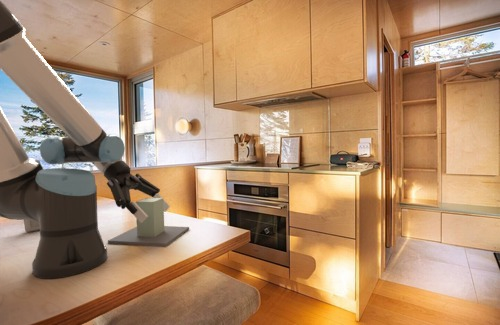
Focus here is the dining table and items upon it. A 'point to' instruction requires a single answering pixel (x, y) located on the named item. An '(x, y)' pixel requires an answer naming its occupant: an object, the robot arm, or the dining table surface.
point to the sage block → (151, 217)
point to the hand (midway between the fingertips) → (157, 214)
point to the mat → (159, 240)
